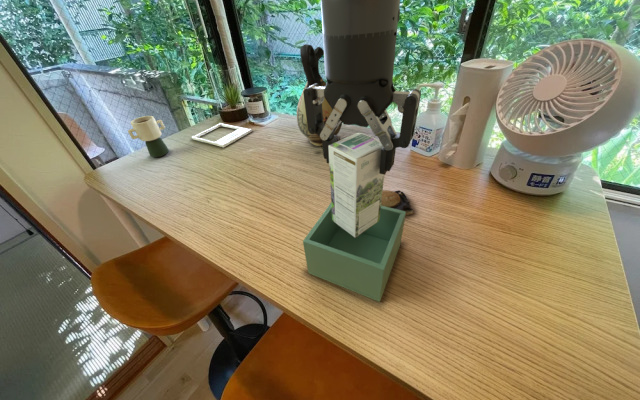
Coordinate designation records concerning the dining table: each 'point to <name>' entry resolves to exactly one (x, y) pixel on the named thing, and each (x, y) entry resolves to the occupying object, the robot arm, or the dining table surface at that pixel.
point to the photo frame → (228, 138)
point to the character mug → (149, 134)
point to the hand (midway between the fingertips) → (357, 165)
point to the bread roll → (396, 201)
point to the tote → (355, 252)
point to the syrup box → (356, 182)
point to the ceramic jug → (312, 76)
